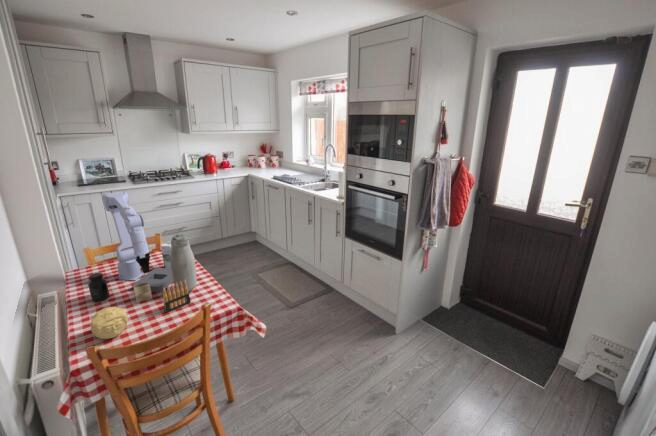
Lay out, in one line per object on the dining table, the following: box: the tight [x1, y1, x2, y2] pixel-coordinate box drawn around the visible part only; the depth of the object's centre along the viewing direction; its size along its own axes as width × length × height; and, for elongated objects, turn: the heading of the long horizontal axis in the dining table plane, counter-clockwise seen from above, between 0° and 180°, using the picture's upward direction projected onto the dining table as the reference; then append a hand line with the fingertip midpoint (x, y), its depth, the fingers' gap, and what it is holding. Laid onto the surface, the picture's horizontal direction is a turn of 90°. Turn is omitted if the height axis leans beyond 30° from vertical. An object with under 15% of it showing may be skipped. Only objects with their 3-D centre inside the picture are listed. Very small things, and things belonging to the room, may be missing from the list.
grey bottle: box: [170, 233, 198, 292], centre depth 150 cm, size 10×10×28 cm
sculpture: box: [90, 306, 129, 340], centre depth 122 cm, size 11×12×11 cm
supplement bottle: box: [87, 272, 111, 303], centre depth 144 cm, size 7×7×12 cm
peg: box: [132, 282, 153, 303], centre depth 146 cm, size 6×4×7 cm, turn 127°
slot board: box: [131, 267, 174, 293], centre depth 161 cm, size 14×18×3 cm
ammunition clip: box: [162, 279, 191, 314], centre depth 139 cm, size 11×2×12 cm, turn 138°
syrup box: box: [160, 241, 171, 269], centre depth 174 cm, size 6×6×14 cm
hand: (146, 271), depth 145 cm, fingers open, 7 cm apart
